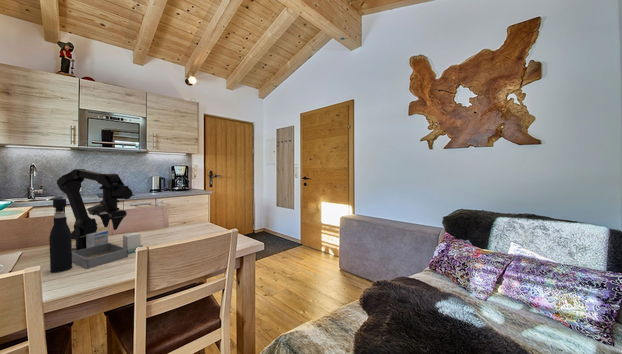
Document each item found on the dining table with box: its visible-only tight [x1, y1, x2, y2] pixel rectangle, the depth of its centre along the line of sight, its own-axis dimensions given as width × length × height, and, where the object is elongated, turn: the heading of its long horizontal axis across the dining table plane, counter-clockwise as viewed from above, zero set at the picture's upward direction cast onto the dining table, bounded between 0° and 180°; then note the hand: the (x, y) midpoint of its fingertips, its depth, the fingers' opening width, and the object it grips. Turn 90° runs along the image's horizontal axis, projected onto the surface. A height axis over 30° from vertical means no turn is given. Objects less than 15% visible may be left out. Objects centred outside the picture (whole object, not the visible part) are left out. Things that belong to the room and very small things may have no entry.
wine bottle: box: [48, 198, 73, 274], centre depth 99 cm, size 6×6×30 cm
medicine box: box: [86, 230, 109, 248], centre depth 124 cm, size 8×4×9 cm, turn 175°
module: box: [122, 232, 141, 250], centre depth 124 cm, size 4×6×7 cm
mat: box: [128, 244, 144, 255], centre depth 125 cm, size 11×9×1 cm
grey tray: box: [72, 242, 129, 270], centre depth 112 cm, size 17×15×4 cm
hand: (110, 228), depth 121 cm, fingers open, 9 cm apart
